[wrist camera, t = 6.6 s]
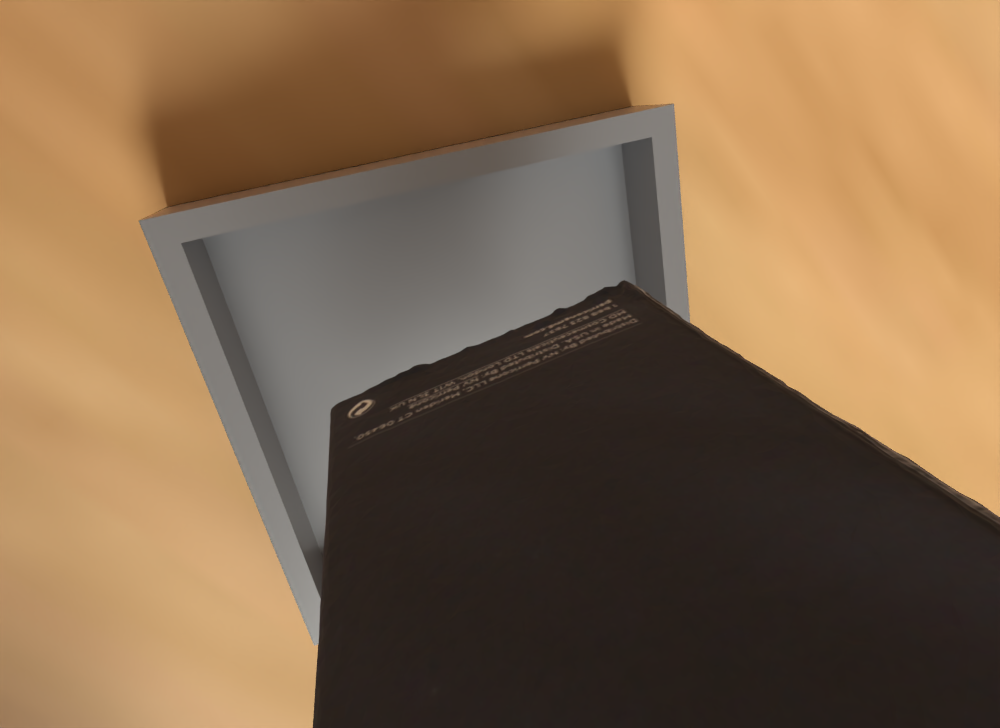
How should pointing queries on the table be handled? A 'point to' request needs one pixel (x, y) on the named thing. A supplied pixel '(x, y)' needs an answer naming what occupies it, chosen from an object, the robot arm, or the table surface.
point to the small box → (640, 546)
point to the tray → (403, 283)
